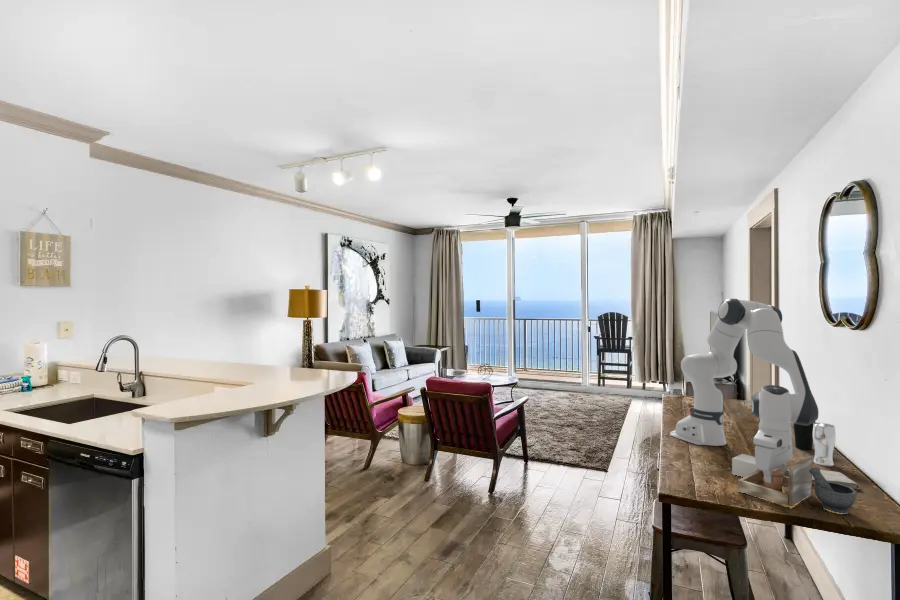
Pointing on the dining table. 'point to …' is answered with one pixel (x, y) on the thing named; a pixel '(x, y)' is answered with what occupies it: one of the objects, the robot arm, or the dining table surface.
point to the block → (743, 465)
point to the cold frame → (795, 483)
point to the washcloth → (836, 478)
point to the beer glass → (823, 443)
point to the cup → (803, 436)
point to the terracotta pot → (775, 480)
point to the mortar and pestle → (833, 493)
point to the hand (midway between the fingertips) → (774, 478)
